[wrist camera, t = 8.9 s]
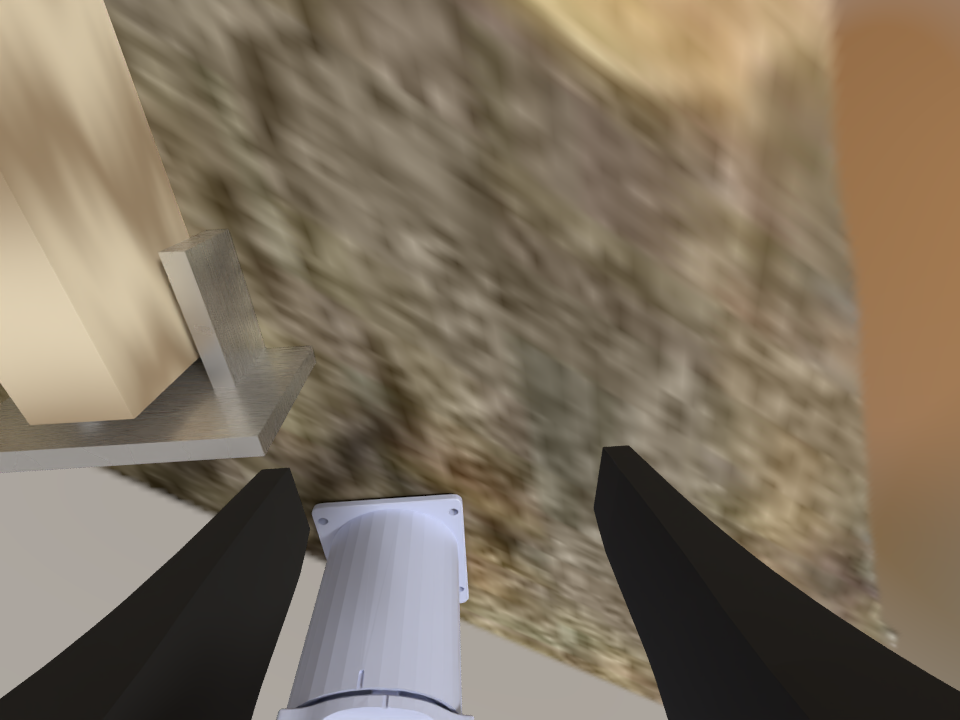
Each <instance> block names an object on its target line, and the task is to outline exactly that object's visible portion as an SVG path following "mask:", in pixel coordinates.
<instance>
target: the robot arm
mask: <svg viewBox="0 0 960 720" xmlns="http://www.w3.org/2000/svg"><path fill="white" fill-rule="evenodd" d="M452 509H455V510H452ZM594 512H595V516H596V519H597V523H598V527H599V531H600V534H601V538H602V541H603V545H604V548H605V552H606V554H607V557H608V559H609V562H610V564H611V567H612V569H613V572H614V574H615V577H616V579H617V582H618V584H619V587H620V589H621V592H622V594H623V597H624V599H625V602H626V604H627V607H628V609H629V612H630V614H631V617H632V619H633V622H634V624H635V627H636V629H637V631H638V634H639V636H640V639H641V641H642V644H643V646H644V649H645V651H646V654H647V657H648V659H649V662H650V665H651V668H652V670H653V673H654V676H655V679H656V682H657V685H658V689H659V692H660V695H661V698H662V702H663V705H664V708H665V711H666V714H667V718H668V720H960V691H958V690H956V689H955V688H953V687H951V686H949V685H948V684H946V683H944V682H943V681H941V680H939V679H937V678H936V677H934V676H932V675H930V674H929V673H927V672H926V671H924V670H922V669H920V668H919V667H917V666H916V665H914V664H912V663H911V662H909V661H907V660H906V659H904V658H902V657H901V656H899V655H898V654H896V653H894V652H893V651H891V650H889V649H888V648H886V647H885V646H883V645H882V644H880V643H878V642H877V641H875V640H874V639H872V638H871V637H869V636H868V635H866V634H865V633H863V632H861V631H860V630H858V629H857V628H855V627H854V626H852V625H851V624H849V623H847V622H846V621H844V620H843V619H841V618H840V617H838V616H837V615H835V614H834V613H832V612H831V611H829V610H828V609H826V608H825V607H823V606H822V605H820V604H819V603H818V602H816V601H815V600H813V599H812V598H810V597H809V596H808V595H806V594H805V593H803V592H802V591H801V590H799V589H798V588H797V587H795V586H794V585H792V584H791V583H790V582H788V581H787V580H785V579H784V578H783V577H781V576H780V575H778V574H777V573H776V572H774V571H773V570H772V569H770V568H769V567H768V566H766V565H765V564H764V563H762V562H761V561H760V560H758V559H757V558H756V557H755V556H753V555H752V554H751V553H750V552H748V551H747V550H746V549H745V548H743V547H742V546H741V545H740V544H738V543H737V542H736V541H735V540H733V539H732V538H731V537H730V536H728V535H727V534H726V533H725V532H724V531H722V530H721V529H720V528H719V527H718V526H716V525H715V524H714V523H713V522H712V521H711V520H709V519H708V518H707V517H706V516H705V515H704V514H703V513H701V512H700V511H699V510H698V509H697V508H696V507H695V506H693V505H692V504H691V503H690V502H689V501H688V500H687V499H686V498H684V497H683V496H682V495H681V494H680V493H679V492H678V491H677V490H676V489H675V488H674V487H672V486H671V485H670V484H669V483H668V482H667V481H666V480H665V479H664V478H663V477H662V476H661V475H660V474H659V473H657V472H656V471H655V470H654V469H653V468H652V467H651V466H650V465H649V464H648V463H647V462H646V461H645V460H644V459H643V458H642V457H640V456H639V455H638V454H637V453H636V452H635V451H634V450H633V449H632V448H631V447H630V446H613V447H603V450H602V457H601V463H600V470H599V476H598V483H597V489H596V496H595V503H594ZM312 517H313V520H314V523H315V526H316V529H317V532H318V535H319V538H320V541H321V544H322V547H323V550H324V553H325V557H326V560H327V563H326V567H325V571H324V574H323V578H322V582H321V585H320V589H319V593H318V596H317V600H316V603H315V607H314V611H313V614H312V618H311V621H310V625H309V629H308V633H307V636H306V640H305V644H304V647H303V651H302V654H301V658H300V662H299V665H298V669H297V672H296V676H295V680H294V683H293V687H292V691H291V694H290V698H289V702H288V705H287V709H281V710H279V712H278V715H277V719H276V720H474V717H473V716H472V715H462V690H461V651H460V650H461V649H460V648H461V647H460V604H459V603H463V602H465V601H467V600H468V598H469V595H468V579H467V565H466V550H465V535H464V521H463V506H462V498H461V497H460V496H459V495H456V494H447V495H432V496H418V497H403V498H389V499H375V500H360V501H346V502H332V503H320V504H317V505H315V506H314V508H313V511H312ZM323 518H325V519H323ZM309 531H310V527H309V524H308V521H307V518H306V515H305V512H304V509H303V506H302V503H301V500H300V498H299V495H298V492H297V489H296V486H295V483H294V480H293V477H292V474H291V471H290V468H279V469H264V470H261V471H260V472H259V473H258V474H257V475H256V476H255V477H254V478H253V479H252V480H251V481H250V482H249V483H248V484H247V485H246V486H245V487H244V488H243V489H242V490H241V491H240V492H239V493H238V494H237V495H236V496H235V497H234V498H233V499H232V500H231V501H230V502H229V503H228V504H227V505H226V506H225V507H224V508H223V509H222V510H221V511H220V512H219V513H218V514H217V515H216V516H215V517H214V518H213V519H211V520H210V521H209V522H208V524H206V525H205V526H204V527H203V528H202V529H201V530H200V531H199V532H198V533H197V534H196V535H195V536H194V537H193V538H192V539H191V540H190V541H189V542H188V543H187V544H186V545H185V546H184V547H183V548H182V549H181V550H180V551H179V552H177V553H176V554H175V555H174V556H173V557H172V558H171V559H170V560H169V561H168V562H167V563H165V564H164V565H163V566H162V567H161V568H160V569H159V570H158V571H156V572H155V573H154V574H153V575H152V576H151V577H150V578H149V579H148V580H147V581H145V582H144V583H143V584H142V585H141V586H140V587H139V588H138V589H137V590H136V591H134V592H133V593H132V594H131V595H130V596H129V597H128V598H127V599H126V600H124V601H123V602H122V603H121V604H120V605H119V606H118V607H116V608H115V609H114V610H113V611H112V612H110V613H109V614H108V615H107V616H106V617H105V618H103V619H102V620H101V621H100V622H98V623H97V624H96V625H95V626H94V627H92V628H91V629H90V630H89V631H88V632H86V633H85V634H84V635H83V636H81V637H80V638H79V639H78V640H76V641H75V642H74V643H73V644H71V645H70V646H69V647H68V648H66V649H65V650H64V651H63V652H62V653H60V654H59V655H58V656H57V657H55V658H54V659H53V660H51V661H50V662H49V663H47V664H46V665H45V666H44V667H42V668H41V669H40V670H38V671H37V672H36V673H34V674H33V675H32V676H30V677H29V678H28V679H26V680H25V681H24V682H22V683H21V684H20V685H18V686H17V687H16V688H14V689H13V690H11V691H10V692H9V693H7V694H6V695H5V696H3V697H2V698H1V699H0V720H251V719H252V715H253V711H254V708H255V705H256V702H257V699H258V695H259V692H260V689H261V686H262V683H263V680H264V677H265V674H266V672H267V669H268V666H269V663H270V660H271V657H272V654H273V652H274V649H275V646H276V643H277V640H278V637H279V634H280V631H281V629H282V626H283V623H284V620H285V617H286V614H287V612H288V608H289V606H290V603H291V600H292V597H293V594H294V591H295V588H296V585H297V582H298V579H299V576H300V573H301V568H302V564H303V560H304V556H305V551H306V546H307V541H308V536H309Z"/></svg>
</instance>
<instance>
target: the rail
mask: <svg viewBox="0 0 960 720" xmlns="http://www.w3.org/2000/svg"><path fill="white" fill-rule="evenodd" d="M188 238H189V235H188V232H187V229H186V227H185V224H184V221H183V218H182V216H181V213H180V210H179V207H178V205H177V202H176V199H175V196H174V194H173V191H172V188H171V185H170V183H169V180H168V177H167V174H166V172H165V169H164V166H163V163H162V161H161V158H160V155H159V152H158V150H157V147H156V144H155V141H154V139H153V136H152V133H151V130H150V128H149V125H148V122H147V119H146V117H145V114H144V111H143V108H142V106H141V103H140V100H139V97H138V95H137V92H136V89H135V86H134V84H133V81H132V78H131V75H130V73H129V70H128V67H127V64H126V62H125V59H124V56H123V53H122V51H121V48H120V45H119V42H118V40H117V37H116V34H115V31H114V29H113V26H112V23H111V20H110V18H109V15H108V12H107V9H106V7H105V4H104V1H103V0H0V383H1V384H2V386H3V387H4V389H5V390H6V392H7V393H8V394H9V396H10V397H11V399H12V400H13V402H14V403H15V404H16V406H17V407H18V409H19V410H20V412H21V413H22V414H23V416H24V417H25V419H26V420H27V422H28V423H29V424H30V425H40V424H57V423H74V422H91V421H107V420H124V419H135V418H136V417H137V416H138V415H139V414H140V413H141V412H142V411H143V410H144V409H145V408H146V407H147V406H148V405H149V404H151V403H152V402H153V401H154V400H155V399H156V398H157V397H158V396H159V395H160V394H161V393H162V392H163V391H164V390H165V389H166V388H167V387H168V386H169V385H171V384H172V383H173V382H174V381H175V380H176V379H177V378H178V377H179V376H180V375H181V374H182V373H183V372H184V371H185V370H186V369H187V368H188V367H189V366H191V365H192V364H193V363H194V362H195V361H196V360H197V359H198V358H199V357H200V355H199V352H198V350H197V347H196V345H195V342H194V340H193V337H192V335H191V332H190V330H189V327H188V325H187V323H186V320H185V318H184V315H183V313H182V310H181V308H180V305H179V303H178V300H177V298H176V295H175V293H174V291H173V288H172V286H171V283H170V281H169V278H168V276H167V273H166V271H165V268H164V266H163V263H162V261H161V259H160V256H159V254H158V252H160V251H162V250H164V249H167V248H169V247H171V246H173V245H175V244H177V243H180V242H182V241H184V240H186V239H188Z"/></svg>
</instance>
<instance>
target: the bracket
mask: <svg viewBox="0 0 960 720" xmlns="http://www.w3.org/2000/svg"><path fill="white" fill-rule="evenodd" d="M158 254H159V256H160V259H161V261H162V263H163V266H164V268H165V271H166V273H167V276H168V278H169V281H170V283H171V286H172V288H173V291H174V293H175V295H176V298H177V300H178V303H179V305H180V308H181V310H182V313H183V315H184V318H185V320H186V323H187V325H188V327H189V330H190V332H191V335H192V337H193V340H194V342H195V345H196V347H197V350H198V352H199V355H200V357H199V358H198V359H197V360H196V361H195V362H194V363H193V364H192V365H191V366H189V367H188V368H187V369H186V370H185V371H184V372H183V373H182V374H181V375H180V376H179V377H178V378H177V379H176V380H175V381H174V382H173V383H172V384H171V385H169V386H168V387H167V388H166V389H165V390H164V391H163V392H162V393H161V394H160V395H159V396H158V397H157V398H156V399H155V400H154V401H153V402H152V403H151V404H149V405H148V406H147V407H146V408H145V409H144V410H143V411H142V412H141V413H140V414H139V415H138V416H137V417H136V418H135V419H124V420H107V421H91V422H74V423H57V424H40V425H30V424H29V423H28V422H27V420H26V419H25V417H24V416H23V414H22V413H21V412H20V410H19V409H18V407H17V406H16V404H15V403H14V402H13V400H12V399H11V397H10V398H8V399H7V400H5V401H4V402H2V403H0V473H5V472H6V473H7V472H21V471H38V470H53V469H68V468H84V467H100V466H115V465H131V464H146V463H162V462H177V461H193V460H208V459H224V458H239V457H255V456H265V455H266V453H267V451H268V449H269V447H270V445H271V444H272V442H273V440H274V438H275V436H276V434H277V433H278V431H279V429H280V427H281V425H282V423H283V422H284V420H285V418H286V416H287V414H288V412H289V411H290V409H291V407H292V405H293V403H294V401H295V400H296V398H297V396H298V394H299V392H300V390H301V389H302V387H303V385H304V383H305V381H306V379H307V378H308V376H309V374H310V372H311V370H312V369H313V367H314V365H315V363H316V360H315V356H314V352H313V348H312V346H301V347H283V348H266V347H265V344H264V341H263V338H262V334H261V331H260V328H259V325H258V322H257V319H256V315H255V312H254V309H253V306H252V303H251V300H250V296H249V293H248V290H247V287H246V284H245V280H244V277H243V274H242V271H241V268H240V265H239V261H238V258H237V255H236V252H235V249H234V246H233V242H232V239H231V236H230V233H229V230H228V229H227V230H206V231H204V232H202V233H199V234H197V235H195V236H193V237H191V238H188V239H186V240H184V241H182V242H180V243H177V244H175V245H173V246H171V247H169V248H167V249H164V250H162V251H160V252H158Z"/></svg>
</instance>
